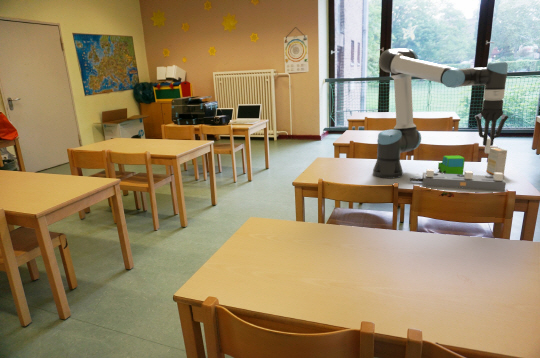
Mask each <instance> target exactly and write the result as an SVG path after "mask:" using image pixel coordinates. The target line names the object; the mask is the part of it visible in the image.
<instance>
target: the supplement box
mask: <svg viewBox="0 0 540 358" xmlns="http://www.w3.org/2000/svg"><path fill="white" fill-rule="evenodd" d="M507 154H508V150H507V149H504V148H501V147H495V146H494V147H490V152H489V153H488V157H487V165H486V172H487V173H489V174H491V175H492V176H494V172H500V173H502V174H503V176H504V175H505V168H506V161H507Z"/></svg>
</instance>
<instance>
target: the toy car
mask: <svg viewBox="0 0 540 358" xmlns="http://www.w3.org/2000/svg"><path fill="white" fill-rule="evenodd" d="M465 160H466V159H465V157H463V156H461V155H443V157H442V160H441V162H438V164H437V168H438V169H437V170H438V172H439V173H443V174H463V175H464V171H465V170H464V168H465Z"/></svg>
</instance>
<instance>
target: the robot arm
mask: <svg viewBox="0 0 540 358" xmlns="http://www.w3.org/2000/svg"><path fill="white" fill-rule="evenodd" d="M378 66H379V68H380V69H381V70H382V71H383V72H385V73H389V74H390V78H392V79H393V81H394V82H393V84H394V86H393V87H394V104H395V106H394V107H395V120H396V121H395V126H394V127H393V129H386V130H382V131H380V132H379V133H378V135H377V152H376V162H375V163H374V167H373V169H372V174H373V176H375V177H377V178H383V179H397V178H401V177H402V176H403V172H404V171H403V167H402V164H401V154H402V153H407V152H411V151H414V150H416V149H417V148H418V147H419V146H420V144H421V142H422V134H421V132H419V129H418V130H417V125H416V124H415V123H414V112H413V111H414V109H413V89H412V88H413V87H412V86H413V85H412V78H413V77H414V78H419V79H423V80H427V81H430V82H435V83H439V84H442V85H444V86H445V87H447V88H453V89H454V88H460V87H469V86H484V90H483V92H484V93H483V99H484V100H483V101H482V109H481V111H480V113H478V114H477V115H474V118H475V120H476V124H477V130H478V136H479V137H480V138H482V146H484V154H489V152H490V148H491V147H493V145H494V141H495V140H494V139H497V138H500V135H501V132H502V130H503V128H504V126H505V123H506V122H507V120H508V119H509V116H508V115H506V114H505V113H504V111H503V107H504V98H505V91H506V84H507V77H508V76H507V75H508V62H506V61H497V62H496V61H495V62H489V63H487V65H486V67H465V68H464V67H463V68H458V67H457V68H456V67H453V66H448V65H443V64H439V63H434V62H430V61H426V60H420V59H419V57H418V54H417V53H416V51H415V50H413V49H412V48H407V47H404V48H401V47H400V48H388V49H386V50H384V51H383V52H381V54H380V55H379V58H378ZM482 118H483V120H484V126H483V125H482V120H481V119H482ZM499 119H500V121H499V124H498V126H497V121H498V120H499ZM490 123H491V125H490ZM483 127H484V129H483ZM496 127H497V129H496ZM489 129H490V134H489ZM488 135H489V137H488Z"/></svg>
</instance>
